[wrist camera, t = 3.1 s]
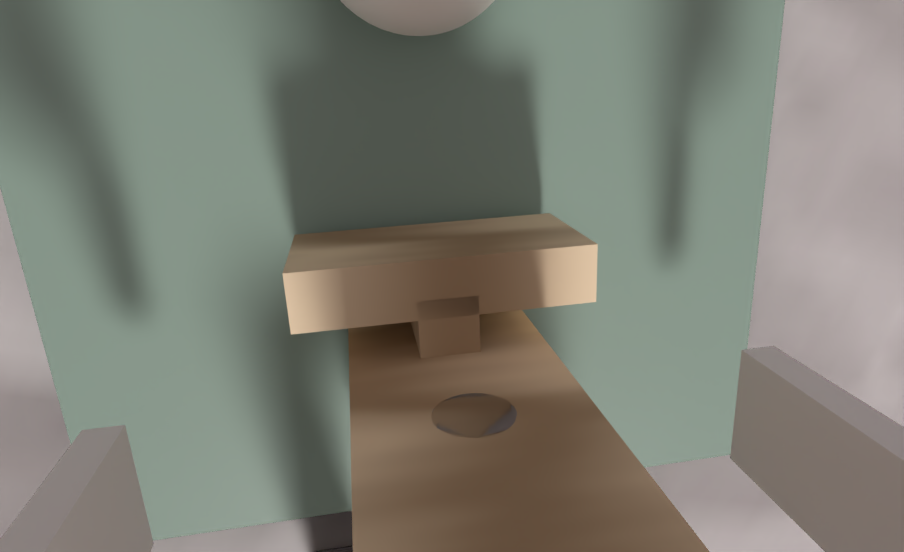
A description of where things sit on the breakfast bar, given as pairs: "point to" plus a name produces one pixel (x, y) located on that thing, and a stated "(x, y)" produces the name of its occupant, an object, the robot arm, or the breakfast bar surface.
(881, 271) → the breakfast bar surface
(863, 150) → the breakfast bar surface
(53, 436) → the breakfast bar surface
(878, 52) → the breakfast bar surface
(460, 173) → the pitch board
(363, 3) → the ball
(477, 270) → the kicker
